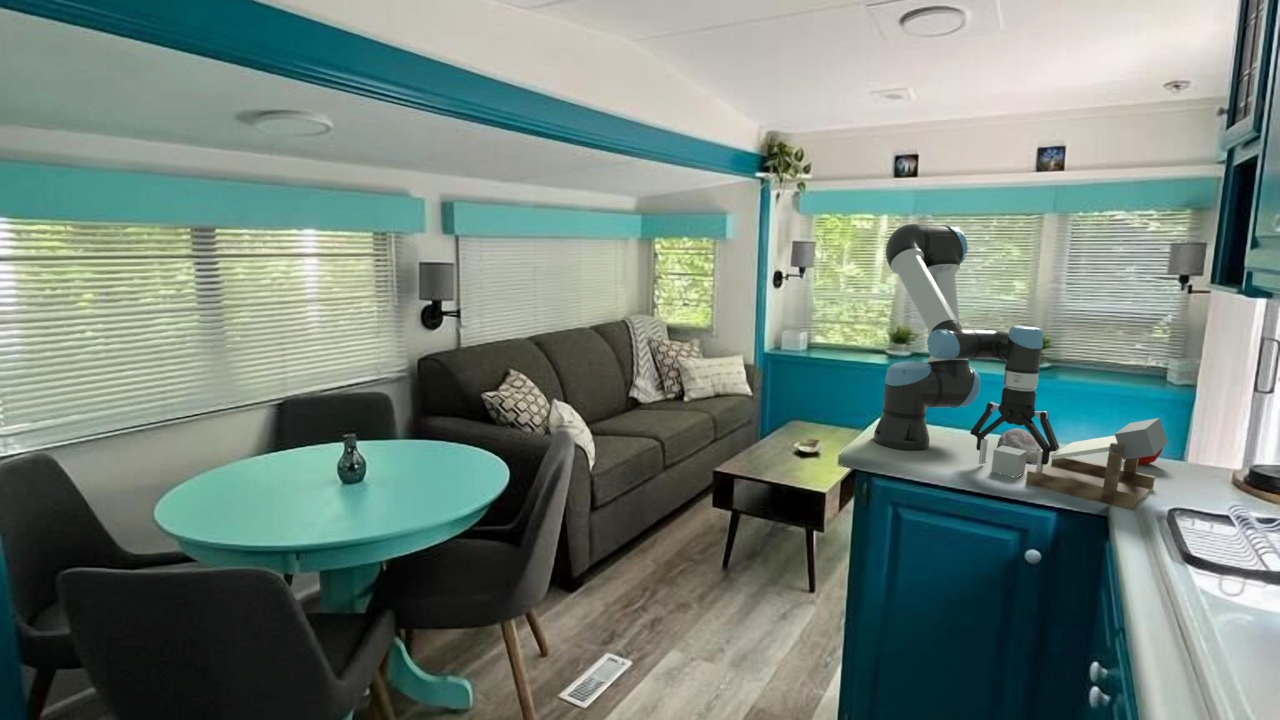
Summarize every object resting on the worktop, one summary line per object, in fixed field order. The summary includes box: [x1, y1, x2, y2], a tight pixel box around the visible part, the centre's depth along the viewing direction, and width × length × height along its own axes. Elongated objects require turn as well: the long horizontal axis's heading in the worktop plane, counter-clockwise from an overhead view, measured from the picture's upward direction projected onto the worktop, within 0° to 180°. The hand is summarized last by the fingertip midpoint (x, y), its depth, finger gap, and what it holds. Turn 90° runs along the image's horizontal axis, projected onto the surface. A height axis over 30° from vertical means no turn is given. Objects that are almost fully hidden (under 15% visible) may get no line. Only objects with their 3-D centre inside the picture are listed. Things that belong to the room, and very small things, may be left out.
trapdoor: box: [1050, 417, 1169, 461], centre depth 165 cm, size 20×18×6 cm
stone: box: [996, 427, 1042, 464], centre depth 194 cm, size 17×10×10 cm
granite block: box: [990, 445, 1027, 478], centre depth 177 cm, size 6×6×6 cm
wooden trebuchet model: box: [1025, 443, 1156, 512], centre depth 168 cm, size 22×22×14 cm
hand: (1009, 469), depth 177 cm, fingers open, 13 cm apart
